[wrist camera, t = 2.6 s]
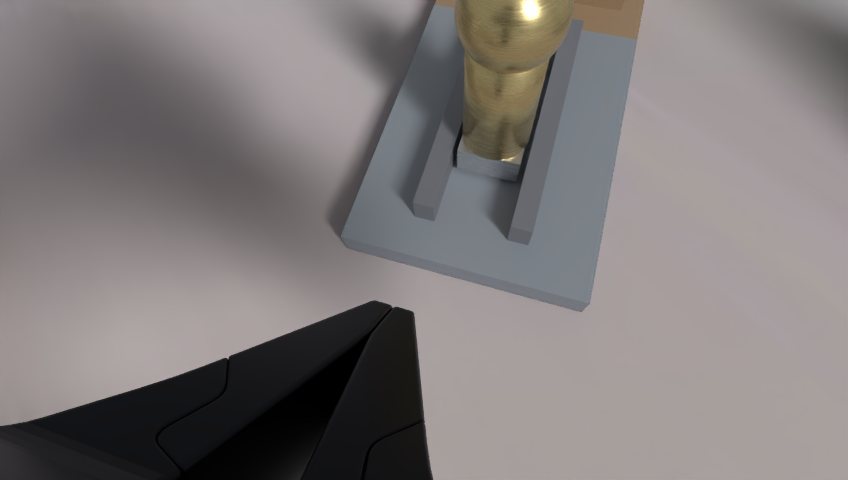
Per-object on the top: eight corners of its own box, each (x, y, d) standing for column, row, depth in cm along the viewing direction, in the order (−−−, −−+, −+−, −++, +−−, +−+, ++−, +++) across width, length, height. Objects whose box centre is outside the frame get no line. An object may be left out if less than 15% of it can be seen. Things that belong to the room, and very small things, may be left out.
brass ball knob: (523, 192, 23) (575, 14, 13) (444, 174, 23) (438, -9, 14) (560, 48, 26) (623, -178, 16) (491, 35, 27) (511, -188, 17)
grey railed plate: (581, 311, 22) (613, 280, 18) (346, 247, 24) (322, 205, 20) (638, 0, 29) (671, -77, 25) (456, -29, 31) (456, -105, 27)
